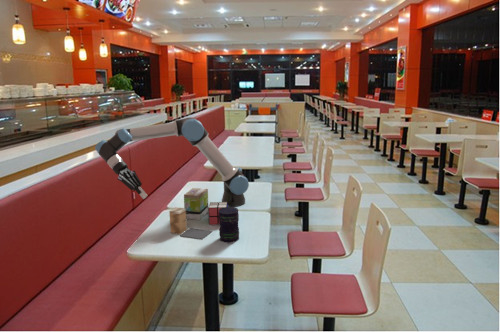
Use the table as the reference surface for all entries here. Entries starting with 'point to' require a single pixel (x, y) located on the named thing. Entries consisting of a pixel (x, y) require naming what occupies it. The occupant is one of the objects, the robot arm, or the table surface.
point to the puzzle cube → (215, 212)
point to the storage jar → (229, 224)
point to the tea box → (196, 203)
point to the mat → (196, 233)
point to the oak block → (178, 220)
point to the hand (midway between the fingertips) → (145, 197)
